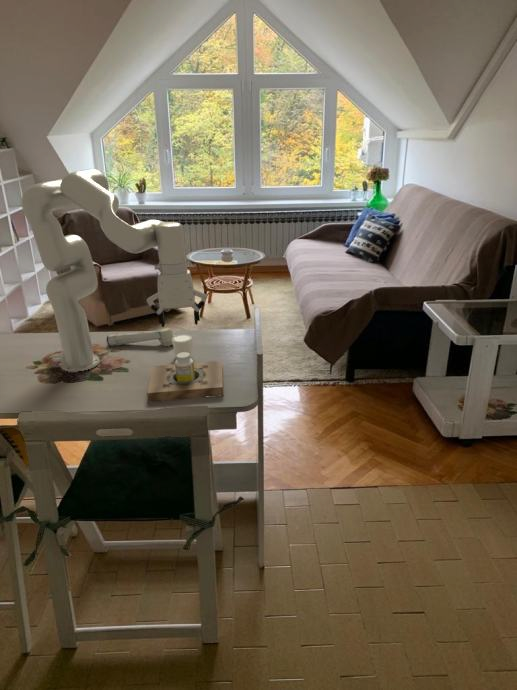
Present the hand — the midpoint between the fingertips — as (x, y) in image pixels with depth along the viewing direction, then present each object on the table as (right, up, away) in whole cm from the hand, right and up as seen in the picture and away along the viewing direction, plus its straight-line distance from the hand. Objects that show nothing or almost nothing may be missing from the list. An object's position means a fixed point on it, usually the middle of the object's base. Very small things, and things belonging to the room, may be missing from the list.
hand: (179, 324), depth 161 cm
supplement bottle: (+1, -19, +8) cm, 20 cm away
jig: (+1, -18, +8) cm, 20 cm away
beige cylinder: (-2, -10, +27) cm, 29 cm away
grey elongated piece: (-19, -6, +39) cm, 44 cm away
